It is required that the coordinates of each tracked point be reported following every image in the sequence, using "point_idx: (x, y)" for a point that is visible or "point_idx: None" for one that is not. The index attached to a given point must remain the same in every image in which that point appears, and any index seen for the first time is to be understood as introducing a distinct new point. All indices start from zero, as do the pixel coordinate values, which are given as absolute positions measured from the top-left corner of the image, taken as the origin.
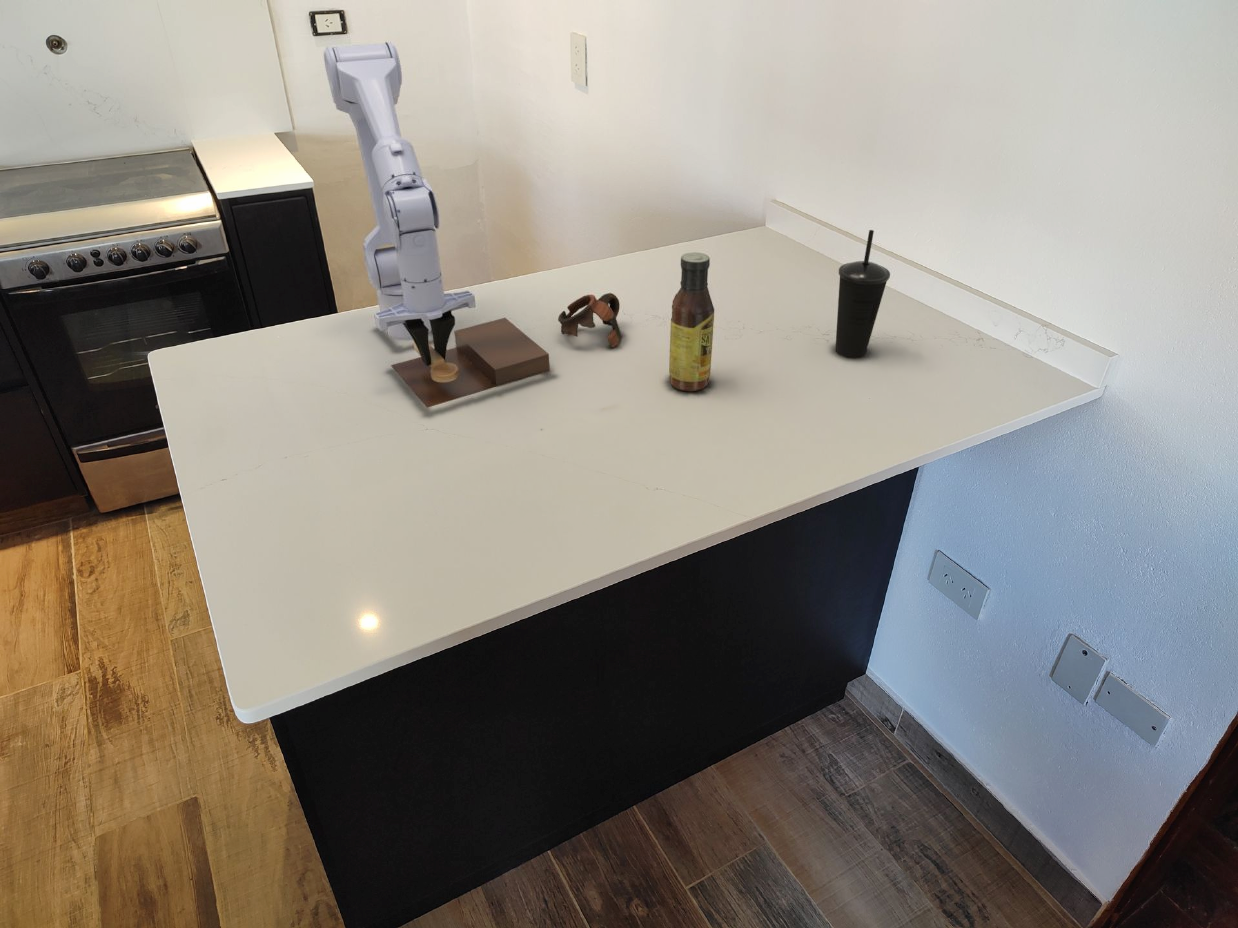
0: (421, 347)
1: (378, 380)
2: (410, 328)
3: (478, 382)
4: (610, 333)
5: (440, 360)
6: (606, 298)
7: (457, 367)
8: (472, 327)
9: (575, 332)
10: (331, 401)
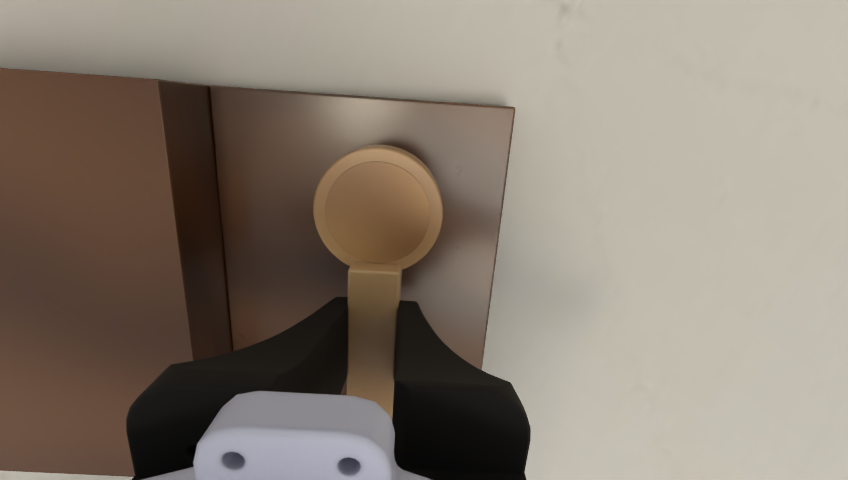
0: (442, 343)
1: (525, 399)
2: (518, 450)
3: (262, 162)
4: None
5: (367, 271)
6: None
7: (316, 192)
8: (130, 468)
9: None
10: (695, 369)
